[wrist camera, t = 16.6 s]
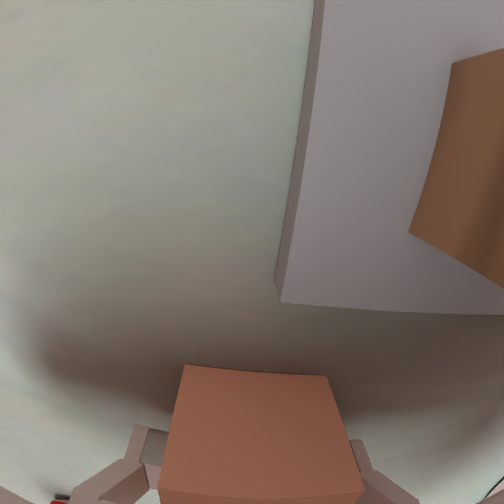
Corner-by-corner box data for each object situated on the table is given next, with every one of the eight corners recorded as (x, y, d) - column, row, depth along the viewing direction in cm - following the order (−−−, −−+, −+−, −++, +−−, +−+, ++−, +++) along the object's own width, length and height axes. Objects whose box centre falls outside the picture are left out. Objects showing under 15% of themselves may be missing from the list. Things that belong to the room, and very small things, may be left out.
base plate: (552, 59, 6) (572, 57, 5) (523, 300, 10) (542, 314, 8) (321, -68, 6) (331, -92, 4) (274, 279, 9) (279, 302, 8)
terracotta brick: (326, 375, 10) (365, 490, 6) (295, 453, 12) (310, 546, 7) (184, 363, 10) (157, 487, 5) (184, 446, 11) (170, 541, 7)
